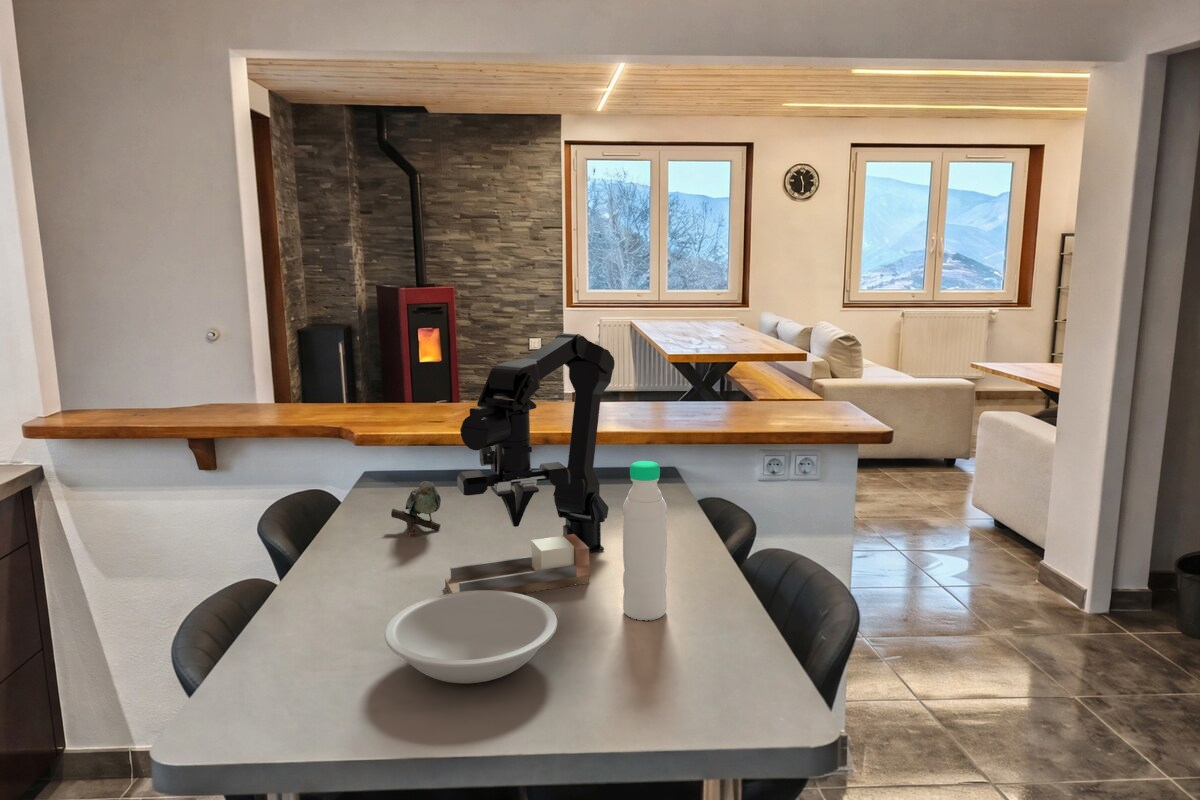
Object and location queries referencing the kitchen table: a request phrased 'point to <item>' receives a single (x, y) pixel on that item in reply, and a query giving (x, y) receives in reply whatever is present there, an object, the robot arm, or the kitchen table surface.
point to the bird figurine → (420, 507)
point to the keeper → (551, 553)
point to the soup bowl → (471, 634)
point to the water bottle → (644, 545)
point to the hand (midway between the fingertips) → (515, 526)
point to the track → (520, 574)
